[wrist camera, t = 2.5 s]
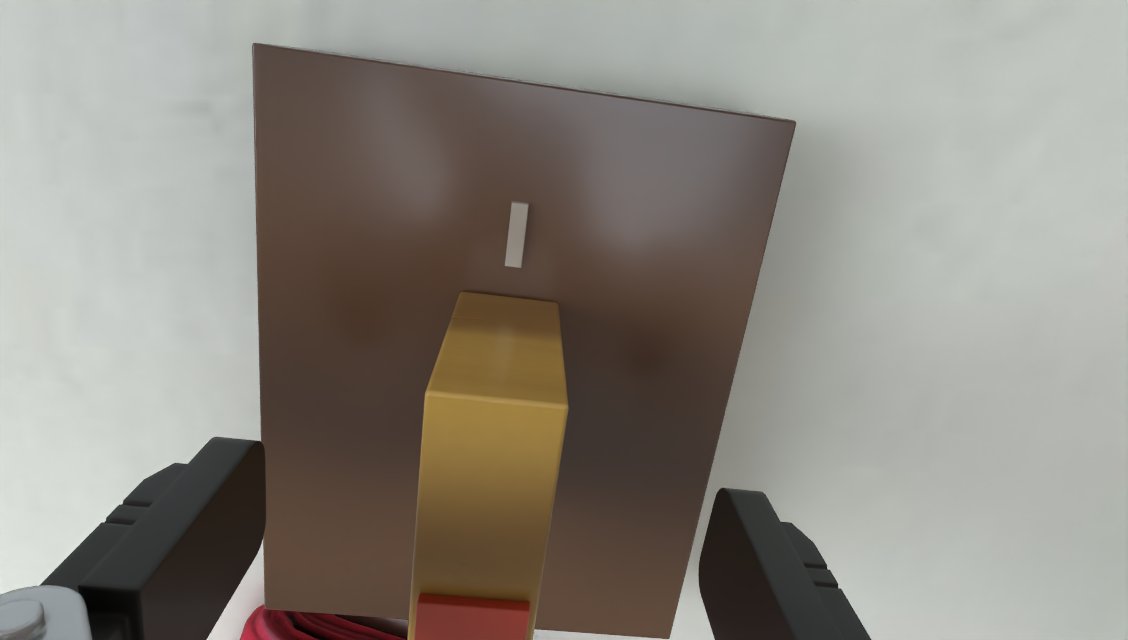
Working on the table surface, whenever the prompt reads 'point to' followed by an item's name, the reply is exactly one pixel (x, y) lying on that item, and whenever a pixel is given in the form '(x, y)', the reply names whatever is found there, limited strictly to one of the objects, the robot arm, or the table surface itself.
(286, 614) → the dish towel
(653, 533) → the lock plate
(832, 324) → the table surface
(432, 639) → the yellow milk carton
